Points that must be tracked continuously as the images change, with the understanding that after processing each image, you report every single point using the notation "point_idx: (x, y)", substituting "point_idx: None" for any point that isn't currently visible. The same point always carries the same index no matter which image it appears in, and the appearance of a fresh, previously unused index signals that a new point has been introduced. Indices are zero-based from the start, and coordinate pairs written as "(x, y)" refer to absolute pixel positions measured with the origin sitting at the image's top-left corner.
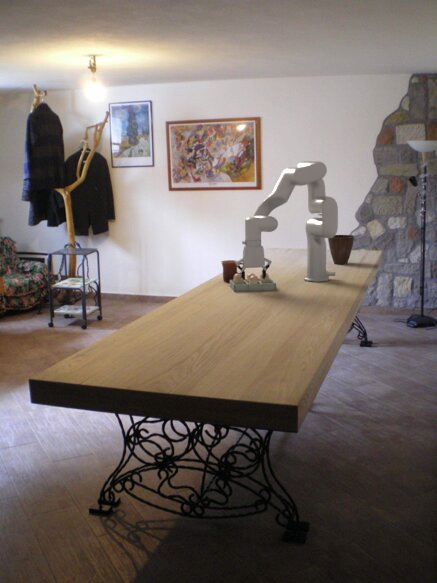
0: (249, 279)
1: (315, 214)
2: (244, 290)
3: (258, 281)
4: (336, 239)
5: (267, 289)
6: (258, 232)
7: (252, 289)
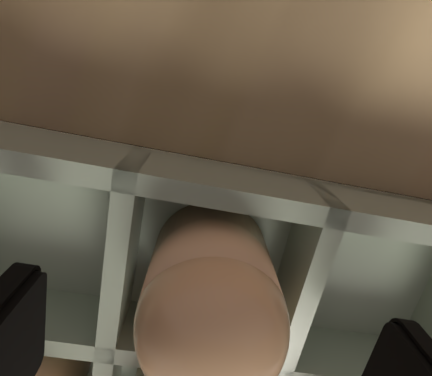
0: (289, 333)
1: None
2: (357, 190)
3: (116, 348)
4: None
5: (67, 134)
6: None
7: (263, 174)
